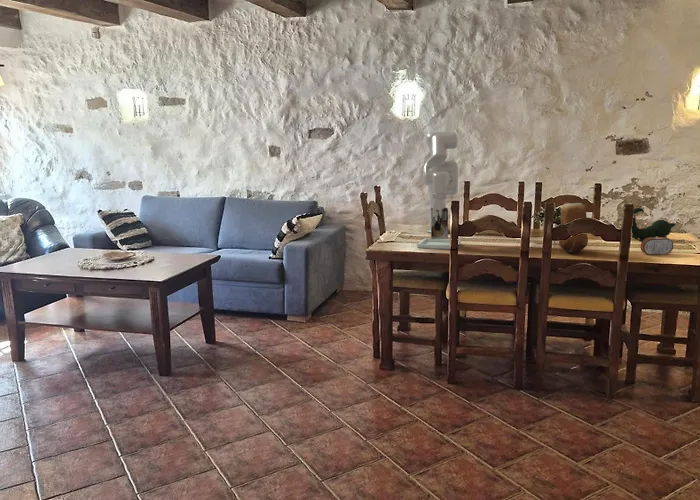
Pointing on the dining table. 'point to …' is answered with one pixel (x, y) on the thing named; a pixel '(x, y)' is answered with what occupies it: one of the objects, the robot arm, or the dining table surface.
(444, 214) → the coffee box
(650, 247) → the tin
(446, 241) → the tray
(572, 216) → the butternut squash
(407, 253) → the dining table surface
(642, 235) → the toy figurine
